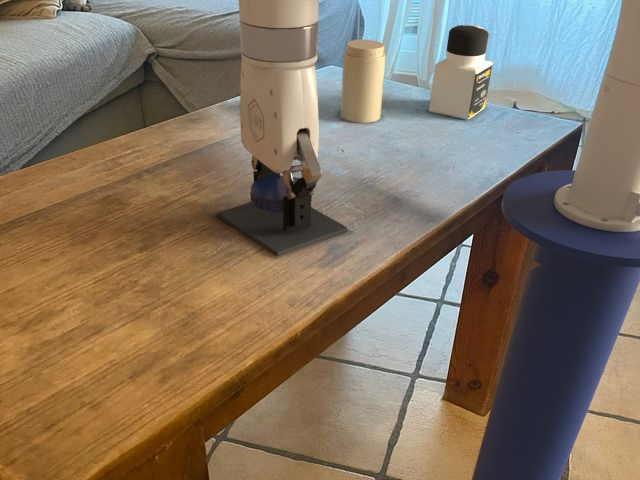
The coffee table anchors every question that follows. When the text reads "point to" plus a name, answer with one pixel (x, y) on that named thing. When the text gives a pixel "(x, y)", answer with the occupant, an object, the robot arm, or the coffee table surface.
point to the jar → (363, 81)
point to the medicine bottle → (462, 74)
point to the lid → (269, 193)
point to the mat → (279, 228)
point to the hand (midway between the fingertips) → (282, 214)
